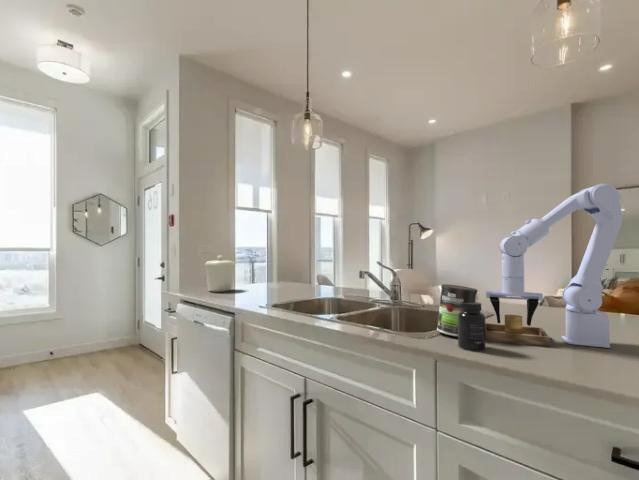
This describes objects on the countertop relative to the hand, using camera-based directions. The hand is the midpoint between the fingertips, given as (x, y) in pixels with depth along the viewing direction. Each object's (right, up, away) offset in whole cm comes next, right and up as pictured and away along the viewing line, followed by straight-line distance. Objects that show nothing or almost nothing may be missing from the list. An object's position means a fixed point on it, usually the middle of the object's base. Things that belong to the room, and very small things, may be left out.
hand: (513, 323), depth 102 cm
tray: (0, -4, 0) cm, 4 cm away
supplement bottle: (-16, -4, -9) cm, 19 cm away
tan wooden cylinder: (0, -4, 0) cm, 4 cm away
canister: (-116, -6, +105) cm, 157 cm away
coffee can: (-16, -4, +4) cm, 17 cm away
